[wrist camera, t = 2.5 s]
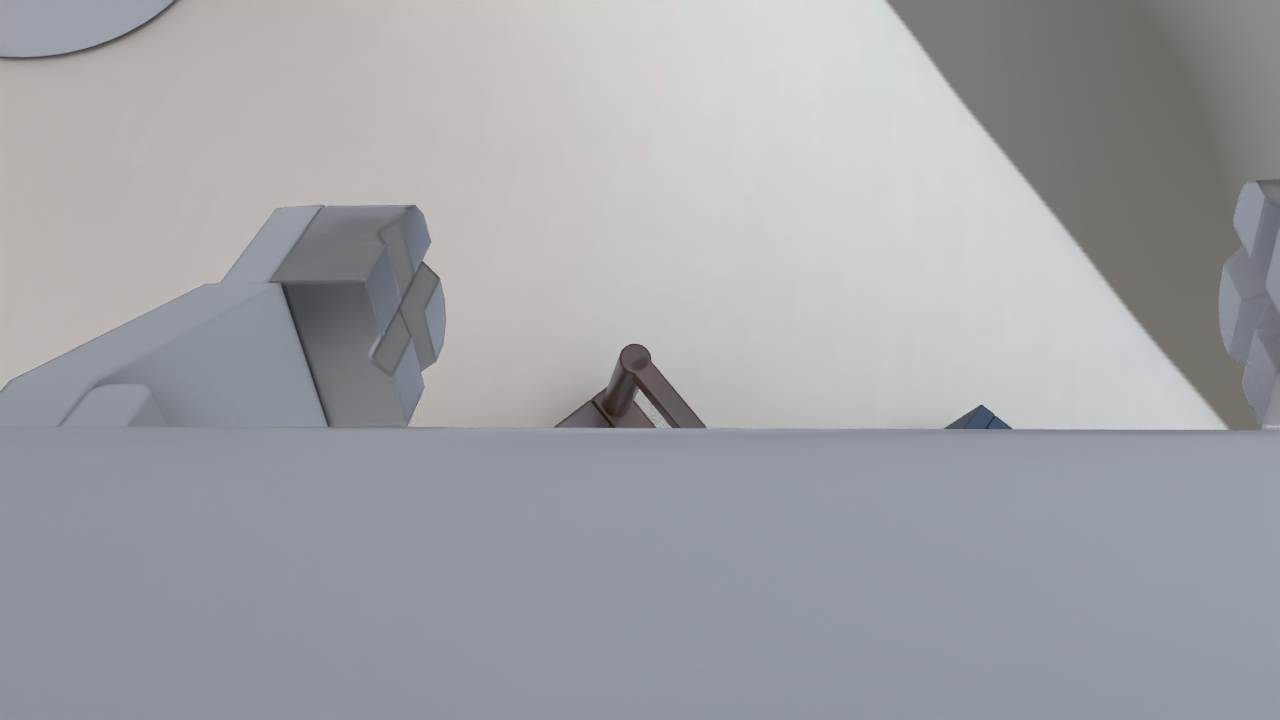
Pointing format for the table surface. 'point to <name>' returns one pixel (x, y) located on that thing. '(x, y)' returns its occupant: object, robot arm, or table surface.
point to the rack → (618, 398)
